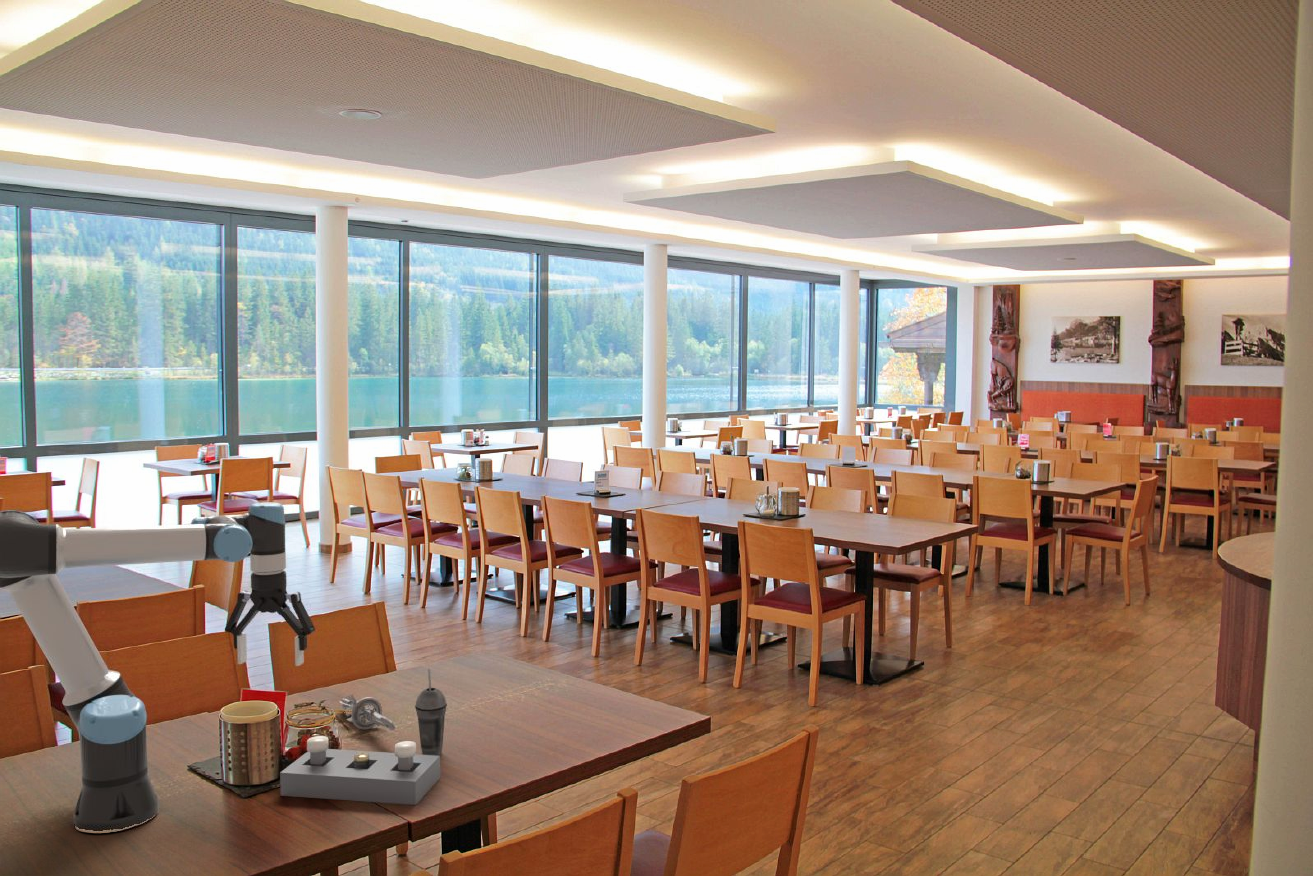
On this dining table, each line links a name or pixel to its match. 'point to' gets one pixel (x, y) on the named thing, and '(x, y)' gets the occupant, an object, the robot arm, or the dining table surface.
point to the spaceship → (365, 712)
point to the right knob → (405, 754)
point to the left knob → (317, 749)
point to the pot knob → (361, 761)
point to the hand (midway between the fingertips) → (270, 663)
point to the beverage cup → (431, 719)
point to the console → (361, 778)
